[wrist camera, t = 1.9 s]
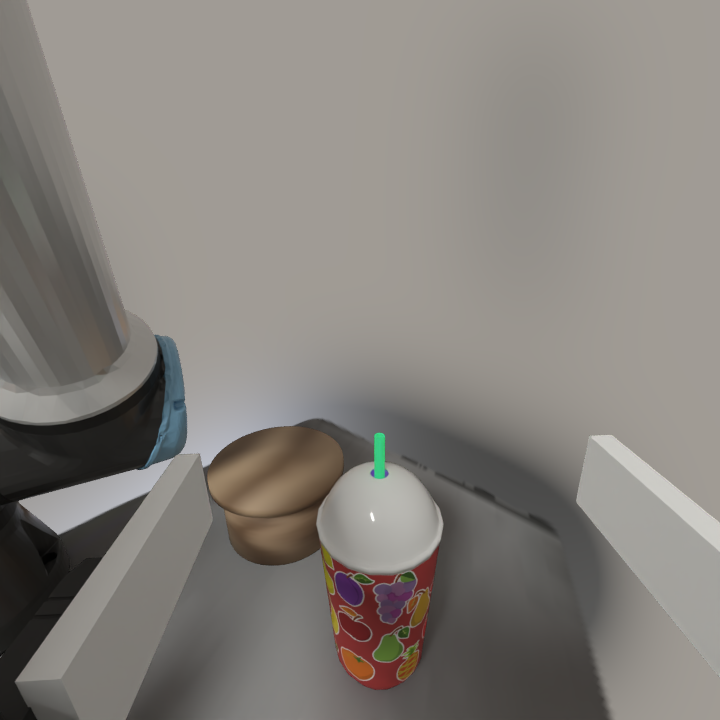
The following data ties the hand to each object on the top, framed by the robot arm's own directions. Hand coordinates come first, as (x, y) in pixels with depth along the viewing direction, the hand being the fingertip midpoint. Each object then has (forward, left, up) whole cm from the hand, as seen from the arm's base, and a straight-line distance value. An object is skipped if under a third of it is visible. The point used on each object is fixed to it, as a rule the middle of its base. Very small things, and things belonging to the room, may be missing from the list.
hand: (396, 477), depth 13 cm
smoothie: (-3, +9, -25) cm, 26 cm away
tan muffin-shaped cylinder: (-17, +19, -24) cm, 35 cm away
